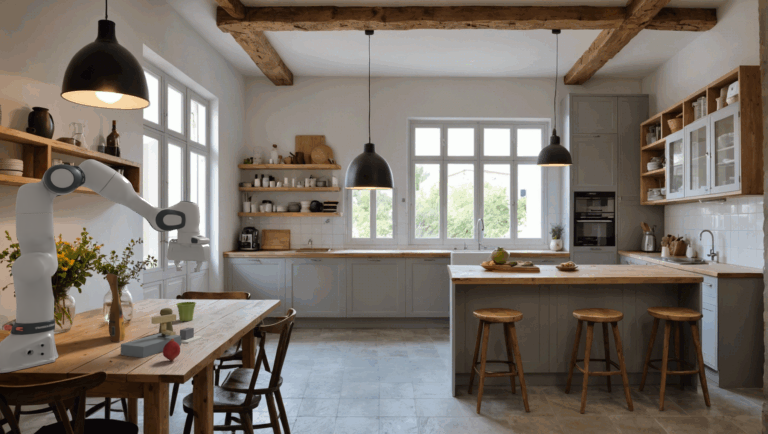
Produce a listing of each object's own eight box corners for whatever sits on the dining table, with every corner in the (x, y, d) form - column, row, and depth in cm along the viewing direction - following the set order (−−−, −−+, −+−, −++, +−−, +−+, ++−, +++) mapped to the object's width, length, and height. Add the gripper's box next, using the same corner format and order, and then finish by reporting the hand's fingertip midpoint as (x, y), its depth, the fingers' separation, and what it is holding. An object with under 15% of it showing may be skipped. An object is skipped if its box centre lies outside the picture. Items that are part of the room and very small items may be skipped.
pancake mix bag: (107, 344, 195) (108, 275, 195) (105, 334, 211) (106, 271, 211) (126, 342, 198) (127, 274, 199) (122, 333, 215) (123, 270, 215)
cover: (188, 344, 198) (188, 332, 198) (170, 342, 200) (170, 330, 200) (202, 339, 206) (202, 327, 206) (185, 337, 209) (185, 325, 209)
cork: (167, 334, 212) (167, 310, 212) (155, 334, 214) (155, 309, 214) (176, 331, 218) (176, 307, 218) (164, 331, 219) (164, 307, 220)
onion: (162, 363, 170) (162, 341, 170) (162, 359, 175) (163, 337, 175) (180, 362, 172) (180, 339, 172) (180, 357, 177) (180, 336, 177)
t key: (183, 335, 192) (184, 316, 193) (162, 339, 185) (162, 320, 185) (172, 332, 197) (173, 313, 197) (151, 336, 190) (151, 317, 190)
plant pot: (183, 323, 237) (183, 305, 237) (172, 320, 242) (172, 303, 242) (199, 320, 244) (200, 303, 245) (188, 317, 250) (188, 301, 250)
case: (143, 357, 177) (143, 346, 177) (120, 354, 180) (120, 343, 180) (180, 345, 194) (181, 334, 195) (159, 342, 198) (159, 332, 198)
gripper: (163, 238, 204) (163, 271, 204) (202, 239, 198) (202, 273, 197) (174, 238, 210) (174, 269, 210) (212, 239, 203) (212, 271, 203)
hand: (188, 271), depth 204 cm, fingers open, 8 cm apart
